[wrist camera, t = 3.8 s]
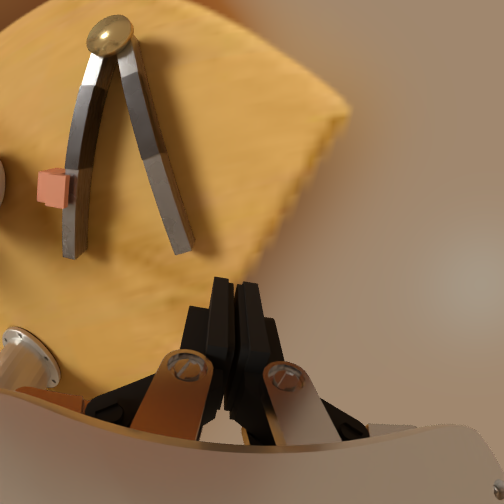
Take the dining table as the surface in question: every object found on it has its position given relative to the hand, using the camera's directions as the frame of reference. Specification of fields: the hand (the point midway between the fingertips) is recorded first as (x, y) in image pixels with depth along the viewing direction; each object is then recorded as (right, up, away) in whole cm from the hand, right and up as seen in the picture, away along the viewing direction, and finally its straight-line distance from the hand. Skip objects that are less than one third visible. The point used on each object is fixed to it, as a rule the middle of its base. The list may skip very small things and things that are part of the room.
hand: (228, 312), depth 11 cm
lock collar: (-19, +10, +13) cm, 25 cm away
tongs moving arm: (-8, +13, +12) cm, 20 cm away
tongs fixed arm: (-14, +14, +11) cm, 23 cm away
